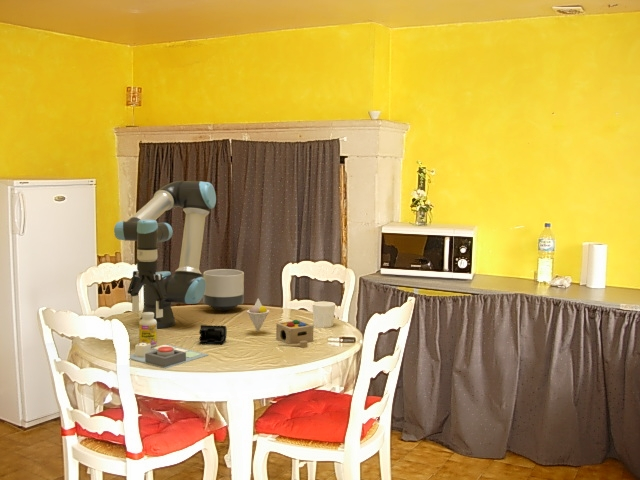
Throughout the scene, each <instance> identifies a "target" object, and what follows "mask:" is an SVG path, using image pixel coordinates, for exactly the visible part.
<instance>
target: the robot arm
mask: <svg viewBox="0 0 640 480" xmlns="http://www.w3.org/2000/svg"><path fill="white" fill-rule="evenodd" d="M216 194H217V193H216V191H215V188H214V186H213V184H212V183H211V182H207V181H202V180H201V181H200V180H199V181H197V180H196V181H195V180H194V181H192V180H191V181H190V180H189V181H188V180H186V181H185V180H177V181H173V182H170V183H168V184H166V185H164V186H162V187H161V188H159V189H158V190H157V191H155V192H154V194H153V197H152V198H151V199H150V200H149V201H148V202H147V203H146V204H144V205H143V206H142V207H141V208H140V209H139V210H137V212H135V214H134V215H132V216H131V217H130V218H129V219H127V220H126V221H124V220H121V221H118V222H116V223H115V225H114V227H113V228H114V229H113V233H114V237H115V238H116V239H117V240H118V241H119V240H120V241H128V242H129V241H132V242H137V243H136V246H137V247H136V251H137V253H136V254H137V255H136V257H137V258H136V259H137V261H136V263H137V264H136V265H137V266H136V269H137V270H134V271H133V272H132V276H131V280H130V284H129V287H128V289H127V294H129V295H130V296H131V308H132V309H131V310H132V311H131V313H133V314H134V313H139V312H140V295H139V292H140V291H141V290H142V288H143V290H142V291H143V309H142V312H141V314H142V313H144V312H153V313H154V319H155V320H156V321H157V329H165V328H170V327H174V326H175V324H176V318H175V316H174V312H173V309H172V303H173V304H174V303H176V304H186V305H191V304H192V305H194V304H198V303H200V302H201V300H202V299H203V295H204V292H205V288H206V284H205V283H206V282H205V279H204V278H203V276H202V275H203V273H202V272H201V270H200V266H201V265H200V264H201V257H202V248H203V240H204V239H203V238H204V231H205V223H206V217H207V216H208V215H209V214H210V211H211V209H214V208H215V206H216V204H217V195H216ZM172 208H182V211H183V212H184V213H185V219H184V226H183V227H184V228H183V235H182V242H181V243H182V244H181V250H180V259H179V266H178V268H177V269H175V271H174V275H172V273H171V271H168V270H164V271H163V270H162V271H157V270H158V260H157V259H158V243H164V242H166V241H169V240H170V239H171V238H172V237H173V234H174V232H173V231H174V230H173V228H172V227H173V226H171V224H169V223H168V222H162V221H161V222H160V221H159V222H158V221H157V219H158V218H160V217H161V216H162V215H163V214H164V213H165V212H166V211H170V210H171V209H172ZM141 319H142V315H141V316H140V319H139V321H140V320H141Z"/></svg>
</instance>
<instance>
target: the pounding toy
mask: <svg viewBox="0 0 640 480" xmlns="http://www.w3.org/2000/svg"><path fill="white" fill-rule="evenodd" d="M275 327H276V331H275V332H276V335H275V336H276V337H275V338H276V340H277V341H280V342H282V343H284V344H282V343H281V344H280V343H279V344H277V347H295V348H297V347H299V348H302V349H307V348H308V347H309V346H308V343H310V342H314V324H311V323H308V322H305V321H302V320H300V319H294V320H289V321H282V322H276V326H275Z"/></svg>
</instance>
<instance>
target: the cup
mask: <svg viewBox="0 0 640 480" xmlns="http://www.w3.org/2000/svg"><path fill="white" fill-rule="evenodd" d="M311 304H312V318H313V319H312V320H313V327H316V328H321V327H322V328H321V329H324V328H325V329H326V328H331V327H333V326H334V322H335V321H334V320H335V311H336V303H335V302H333V301H315V302H312V303H311Z"/></svg>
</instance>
